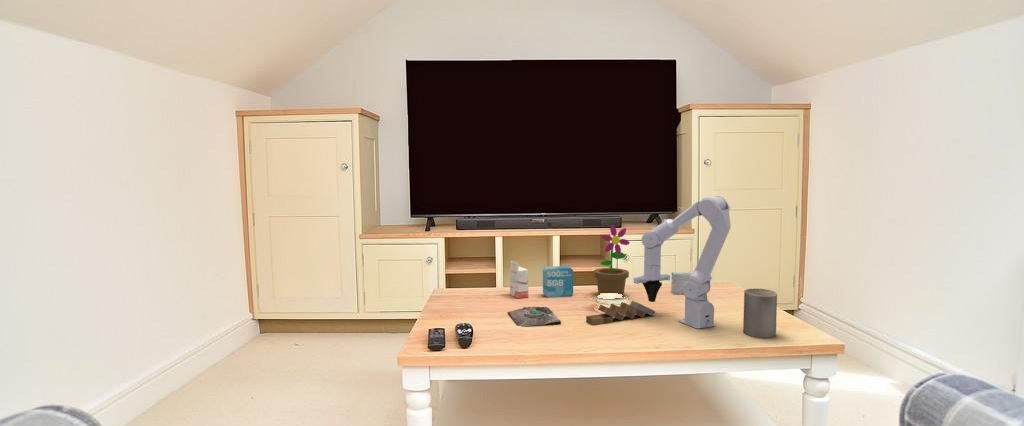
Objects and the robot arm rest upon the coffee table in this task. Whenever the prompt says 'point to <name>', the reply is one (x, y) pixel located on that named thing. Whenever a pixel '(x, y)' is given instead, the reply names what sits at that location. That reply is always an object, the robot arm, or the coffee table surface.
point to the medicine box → (679, 281)
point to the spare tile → (643, 308)
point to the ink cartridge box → (518, 281)
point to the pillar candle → (760, 313)
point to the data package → (558, 281)
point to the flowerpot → (611, 277)
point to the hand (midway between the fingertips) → (651, 301)
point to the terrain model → (534, 317)
